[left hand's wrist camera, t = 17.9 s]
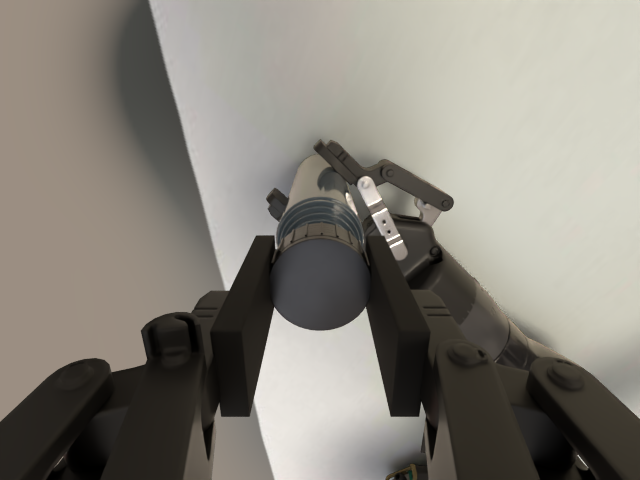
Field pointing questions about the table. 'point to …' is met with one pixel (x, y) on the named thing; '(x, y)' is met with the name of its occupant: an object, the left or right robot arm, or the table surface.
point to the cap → (320, 277)
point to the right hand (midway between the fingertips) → (293, 170)
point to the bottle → (319, 200)
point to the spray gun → (410, 473)
